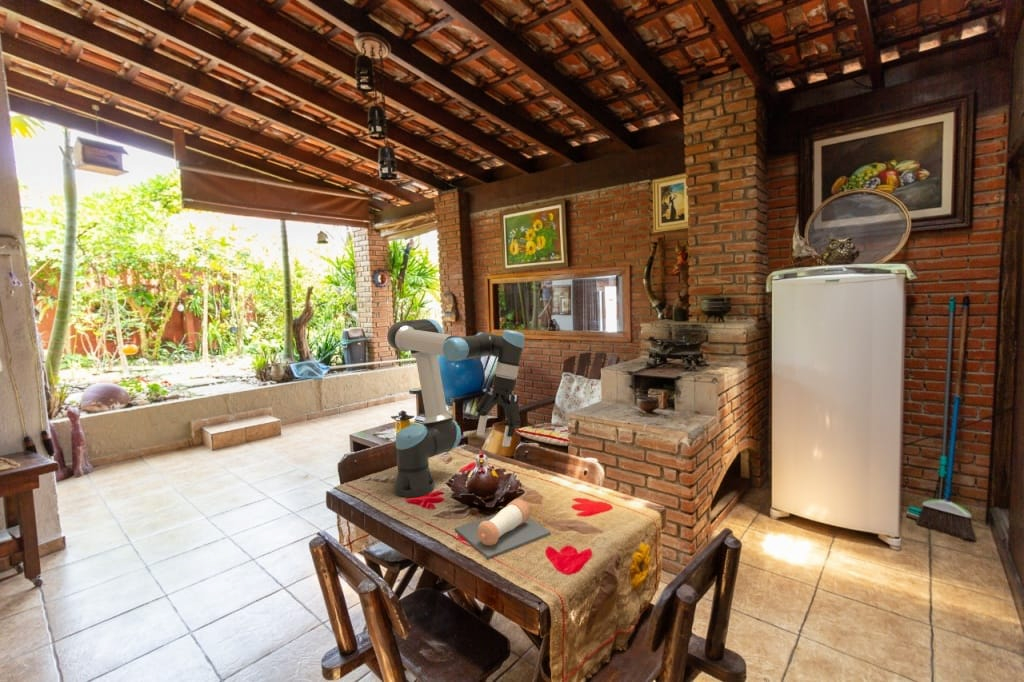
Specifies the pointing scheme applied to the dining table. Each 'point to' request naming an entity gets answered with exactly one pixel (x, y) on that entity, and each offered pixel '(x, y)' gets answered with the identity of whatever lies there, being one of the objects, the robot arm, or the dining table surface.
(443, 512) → the dining table surface
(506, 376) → the robot arm
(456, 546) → the dining table surface
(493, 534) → the pepper shaker
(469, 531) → the slate mat
